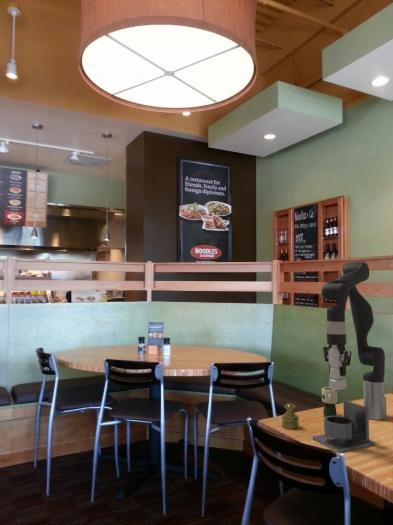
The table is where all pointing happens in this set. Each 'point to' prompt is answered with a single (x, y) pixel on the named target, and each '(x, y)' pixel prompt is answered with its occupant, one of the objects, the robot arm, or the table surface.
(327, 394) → the character mug
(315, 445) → the table surface
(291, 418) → the brass knob
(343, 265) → the robot arm
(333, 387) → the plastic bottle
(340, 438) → the cup bracket
